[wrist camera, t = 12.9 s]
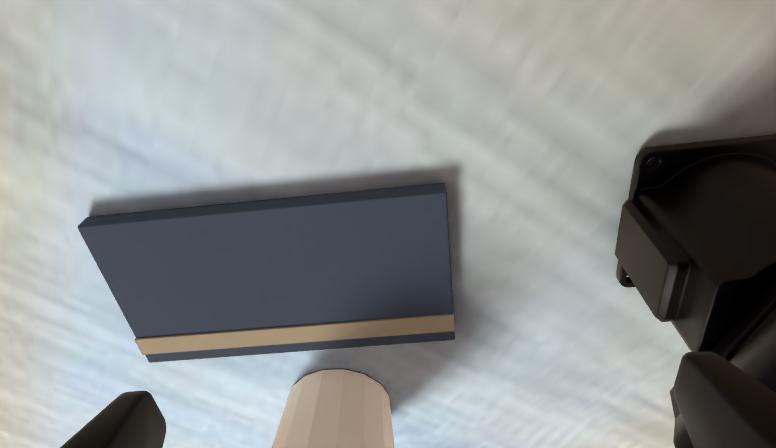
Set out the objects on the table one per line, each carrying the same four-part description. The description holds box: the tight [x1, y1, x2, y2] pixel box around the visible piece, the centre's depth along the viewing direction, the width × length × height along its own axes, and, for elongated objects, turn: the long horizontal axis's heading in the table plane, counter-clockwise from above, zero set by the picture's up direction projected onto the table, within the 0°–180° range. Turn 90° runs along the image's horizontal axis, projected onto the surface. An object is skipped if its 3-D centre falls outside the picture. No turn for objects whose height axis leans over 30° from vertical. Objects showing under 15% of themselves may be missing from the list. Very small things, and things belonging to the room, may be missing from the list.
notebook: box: [78, 183, 455, 362], centre depth 22 cm, size 15×8×1 cm, turn 96°
